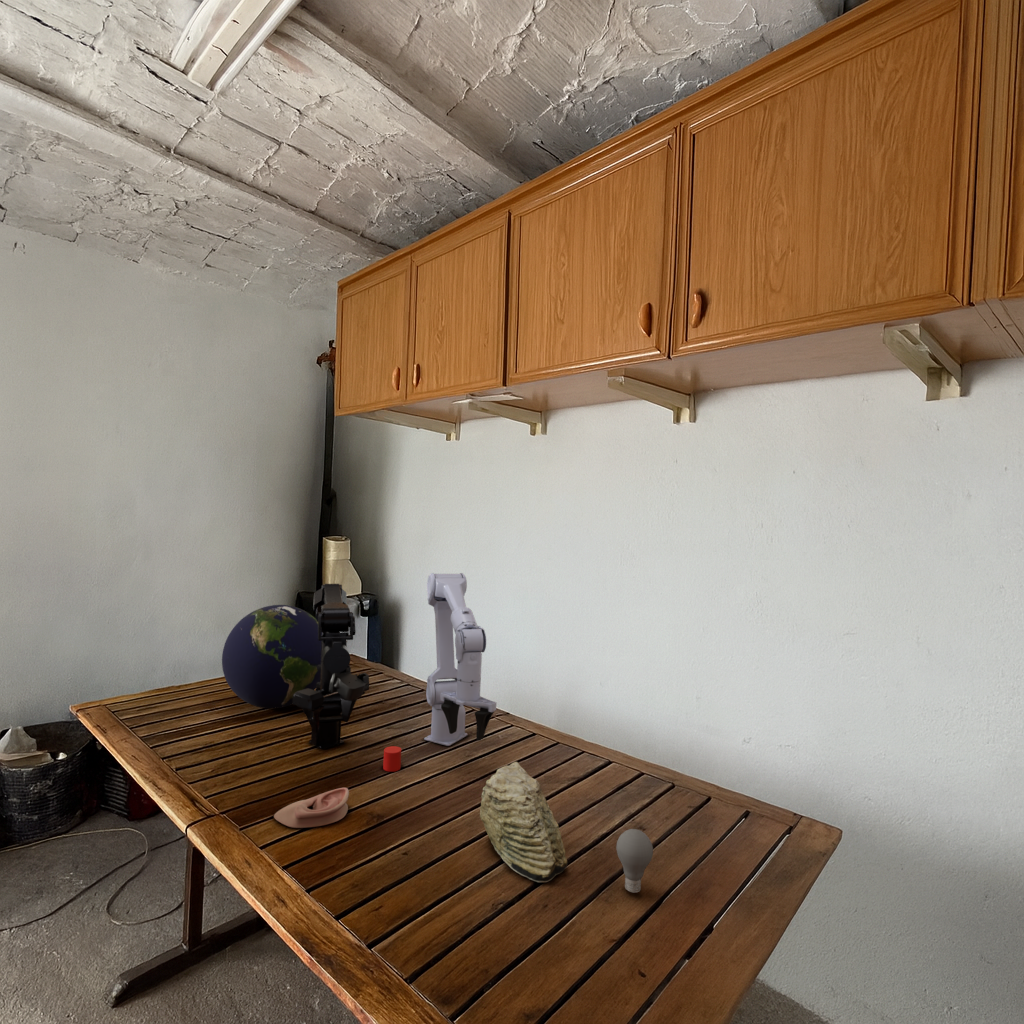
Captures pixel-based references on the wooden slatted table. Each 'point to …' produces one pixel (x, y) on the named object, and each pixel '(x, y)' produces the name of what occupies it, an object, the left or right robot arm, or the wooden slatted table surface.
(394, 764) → the red cylinder
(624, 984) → the wooden slatted table surface
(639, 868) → the light bulb
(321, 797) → the anatomical model
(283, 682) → the globe
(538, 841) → the fossil
